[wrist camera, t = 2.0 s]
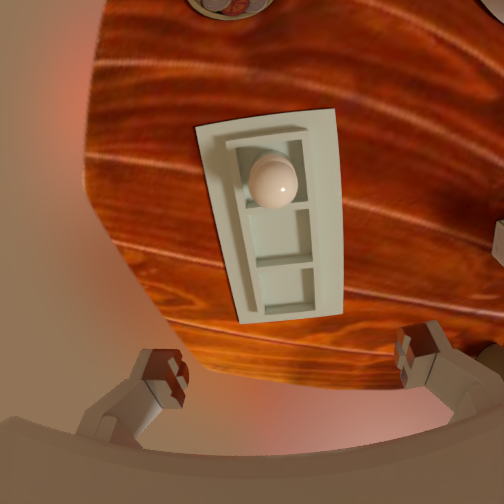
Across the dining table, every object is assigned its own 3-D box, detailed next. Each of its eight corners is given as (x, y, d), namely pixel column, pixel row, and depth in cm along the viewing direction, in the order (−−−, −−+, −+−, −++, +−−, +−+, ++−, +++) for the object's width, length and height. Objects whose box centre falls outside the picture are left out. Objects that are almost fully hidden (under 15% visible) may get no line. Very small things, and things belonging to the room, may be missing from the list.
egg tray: (196, 126, 30) (191, 129, 28) (333, 108, 28) (337, 109, 26) (240, 321, 42) (239, 332, 40) (342, 311, 40) (344, 321, 39)
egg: (248, 153, 30) (242, 170, 24) (291, 147, 30) (297, 163, 24) (254, 193, 33) (251, 220, 26) (296, 188, 32) (302, 214, 26)
